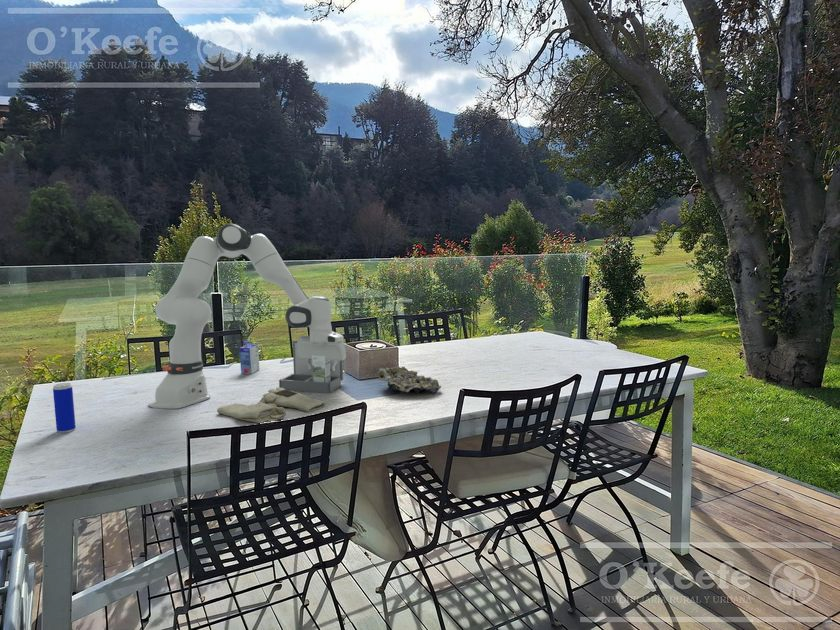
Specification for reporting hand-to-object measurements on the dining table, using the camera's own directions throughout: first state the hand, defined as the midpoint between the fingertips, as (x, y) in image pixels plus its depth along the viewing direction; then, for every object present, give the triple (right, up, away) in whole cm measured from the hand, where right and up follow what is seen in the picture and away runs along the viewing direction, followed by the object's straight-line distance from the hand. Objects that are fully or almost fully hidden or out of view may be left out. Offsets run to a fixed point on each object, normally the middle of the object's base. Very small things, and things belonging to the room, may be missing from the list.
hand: (321, 370), depth 230 cm
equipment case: (-5, -7, +4) cm, 10 cm away
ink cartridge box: (-39, -4, +32) cm, 51 cm away
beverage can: (-73, -15, -49) cm, 89 cm away
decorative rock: (+35, -8, 0) cm, 36 cm away
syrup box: (0, -8, +2) cm, 8 cm away
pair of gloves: (-13, -12, -28) cm, 33 cm away
